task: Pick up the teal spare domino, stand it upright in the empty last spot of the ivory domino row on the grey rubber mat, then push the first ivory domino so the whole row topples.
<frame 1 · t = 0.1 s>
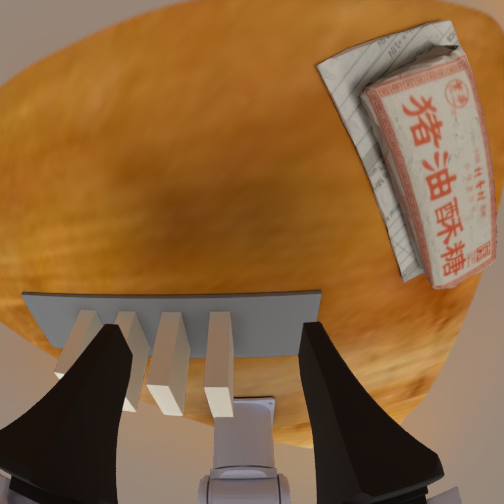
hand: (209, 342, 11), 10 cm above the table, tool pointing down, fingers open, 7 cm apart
domino 4: (97, 328, 25), resting on mat
domino 1: (222, 331, 25), resting on mat
domino 3: (135, 330, 25), resting on mat
mat: (156, 327, 25), on the table
domino 2: (177, 331, 25), resting on mat
packaged product: (425, 157, 18), on the table
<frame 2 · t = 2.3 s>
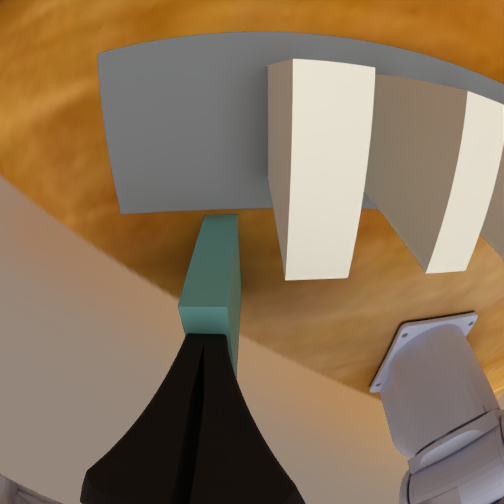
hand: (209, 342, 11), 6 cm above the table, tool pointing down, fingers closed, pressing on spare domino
domino 4: (287, 123, 12), resting on mat
domino 3: (375, 128, 12), resting on mat
spare domino: (225, 249, 17), on the table, touching gripper
mat: (408, 131, 12), on the table
domino 2: (444, 139, 12), resting on mat
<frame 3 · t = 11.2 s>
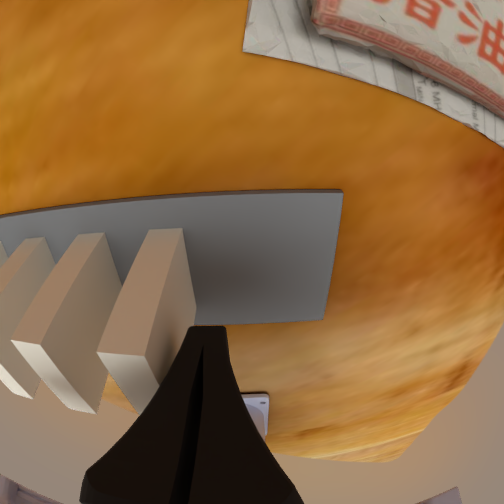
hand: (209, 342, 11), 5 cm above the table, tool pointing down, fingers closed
domino 1: (174, 271, 15), resting on mat, touching gripper
domino 3: (49, 273, 15), resting on mat
mat: (78, 269, 15), on the table
domino 2: (104, 273, 15), resting on mat
packaged product: (445, 21, 9), on the table
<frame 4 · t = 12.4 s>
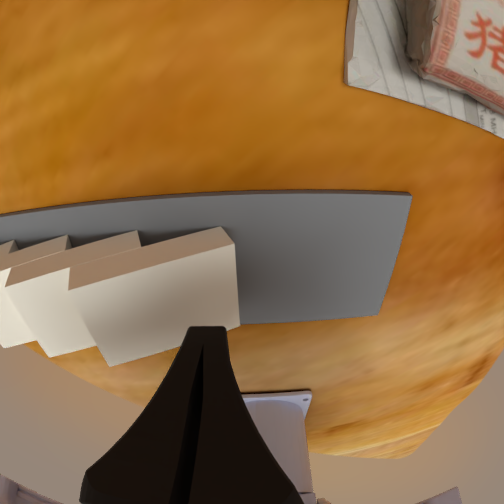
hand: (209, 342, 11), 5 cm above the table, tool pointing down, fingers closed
domino 1: (230, 279, 14), point 1 cm above the table, tilted 66°, touching domino 2, mat
domino 3: (81, 281, 14), point 1 cm above the table, tilted 67°, touching domino 2, domino 4, mat
mat: (133, 267, 15), on the table
domino 2: (150, 281, 14), point 1 cm above the table, tilted 67°, touching domino 1, domino 3, mat
packaged product: (494, 49, 9), on the table
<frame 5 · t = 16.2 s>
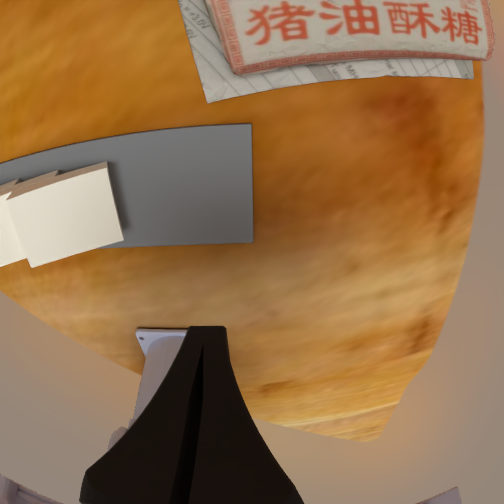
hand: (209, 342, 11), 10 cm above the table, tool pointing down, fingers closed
domino 1: (114, 201, 18), point 1 cm above the table, tilted 66°, touching domino 2, mat
mat: (59, 201, 18), on the table
domino 2: (65, 206, 18), point 1 cm above the table, tilted 67°, touching domino 1, domino 3, mat
packaged product: (338, 4, 12), on the table
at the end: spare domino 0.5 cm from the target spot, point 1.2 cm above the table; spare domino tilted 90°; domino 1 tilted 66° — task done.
